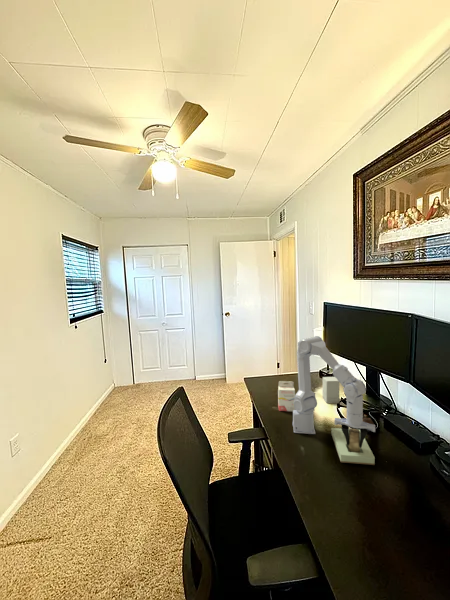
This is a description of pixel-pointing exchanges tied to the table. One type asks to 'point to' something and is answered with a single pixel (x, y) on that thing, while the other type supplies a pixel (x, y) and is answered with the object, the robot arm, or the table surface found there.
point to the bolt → (367, 420)
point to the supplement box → (330, 390)
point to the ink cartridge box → (286, 396)
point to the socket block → (351, 457)
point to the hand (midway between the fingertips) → (354, 444)
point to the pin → (354, 440)
